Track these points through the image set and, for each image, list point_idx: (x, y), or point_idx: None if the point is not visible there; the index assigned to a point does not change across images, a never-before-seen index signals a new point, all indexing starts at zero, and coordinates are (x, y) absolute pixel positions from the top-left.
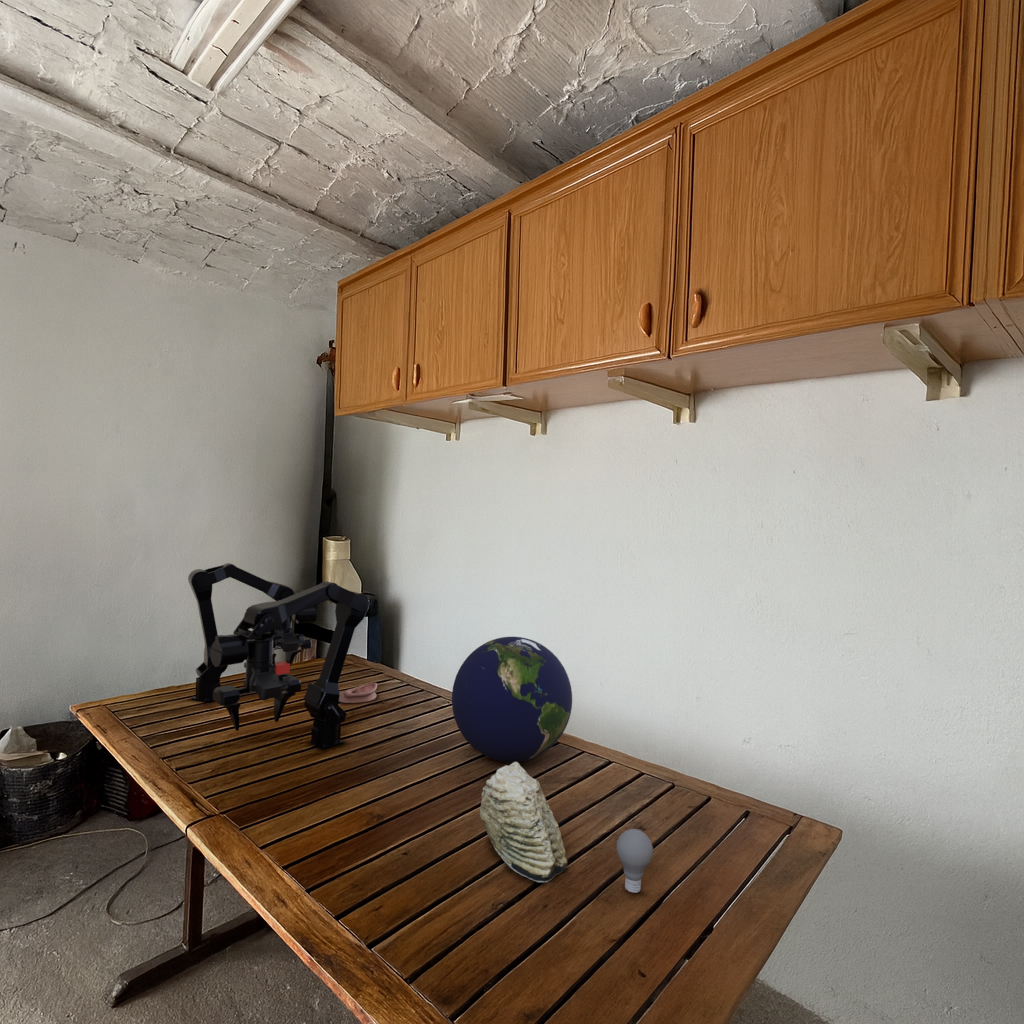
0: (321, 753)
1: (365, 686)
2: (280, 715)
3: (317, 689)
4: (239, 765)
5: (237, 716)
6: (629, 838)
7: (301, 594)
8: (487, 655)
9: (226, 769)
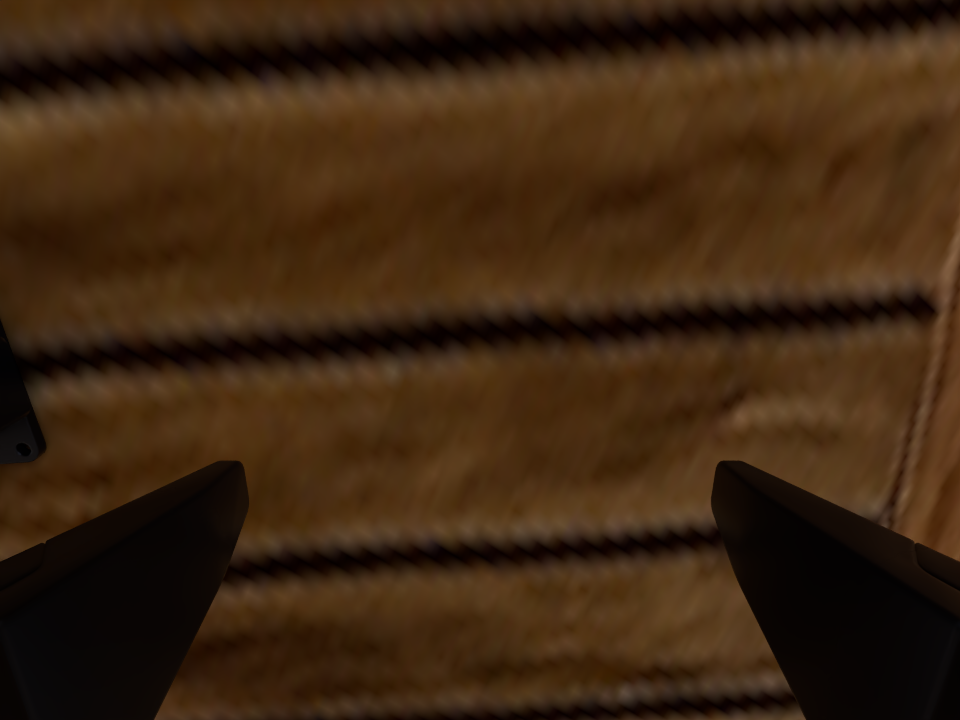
0: (6, 227)
1: None
2: (152, 493)
3: None
4: (571, 379)
5: (884, 554)
6: None
7: None
8: None
9: (662, 369)
